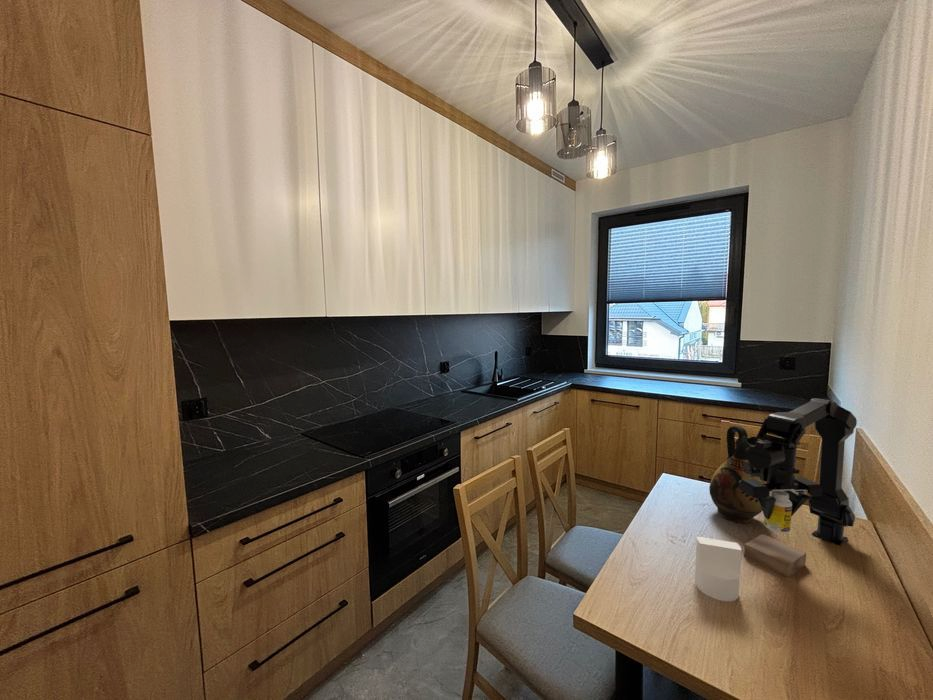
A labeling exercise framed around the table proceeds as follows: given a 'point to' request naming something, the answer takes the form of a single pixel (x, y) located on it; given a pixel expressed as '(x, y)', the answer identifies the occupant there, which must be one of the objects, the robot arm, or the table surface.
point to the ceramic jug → (734, 480)
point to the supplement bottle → (780, 513)
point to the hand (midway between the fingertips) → (777, 517)
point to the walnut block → (775, 555)
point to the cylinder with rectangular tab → (718, 568)
